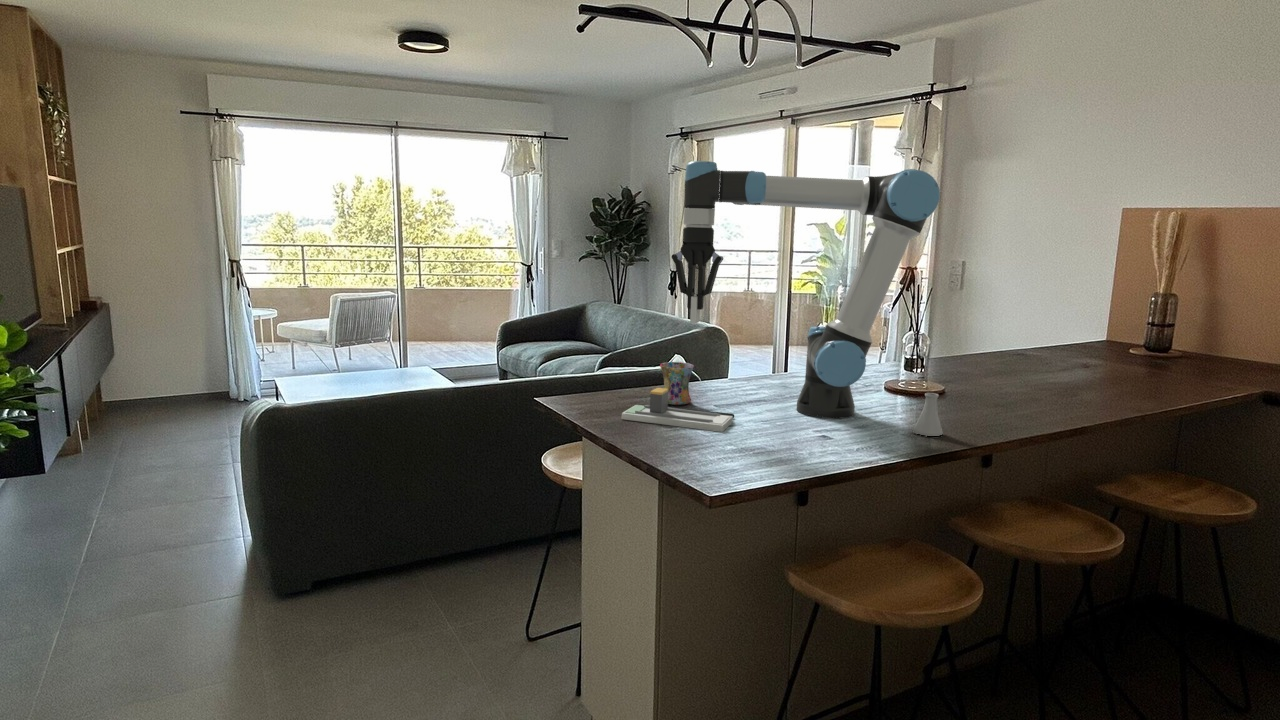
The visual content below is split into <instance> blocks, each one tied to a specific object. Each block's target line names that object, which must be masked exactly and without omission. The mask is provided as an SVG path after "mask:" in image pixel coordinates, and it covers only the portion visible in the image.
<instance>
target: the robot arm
mask: <svg viewBox="0 0 1280 720" xmlns="http://www.w3.org/2000/svg"><path fill="white" fill-rule="evenodd" d="M717 166H718V165H717V163H716V162H714V161H706V160H692V161H689V162H688V163H687V164H686V167H685V177H684V178H685V179H684V198H683V199H684V200H683V204H684V205H683V225H684V226H685V227H683V229H682V245H681V247H680V251H678V252H676V253H673V254H671V259H672V261H673V263H674V264H675V265H674V266H675V271H676V275H677V281H678V285H679V291H680V293H681V294H684V295H686V297H687V299H686V300H687V301H686V303H687V304H686V307H687V308H686V309H687V310H688V309H689V310H690V316H689V317H690V318H689V319H690V320H689V324H697V323H699V322H700V310H703V309H704V305H705V304H704V302H705V296H707V295H710V294H711V293H712V291H713V288H714V285H715V281H716V277H717V274H718V271H719V267H720V265H721V263H723V260H724V256H722V255H719V254H718V253H717V252H716V249H715V246H714V239H715V238H714V235H715V233H714V232H715V230H714V228H713V227H712V226H714V225H715V214H716V213H715V212H716V209H715V208H716V203H732V204H734V205H736V206H737V205H739V206H744V205H747V206H748V205H749V206H750V205H751V206H772V207H788V208H789V207H791V208H804V209H805V208H806V209H808V208H809V209H810V208H811V209H824V210H825V209H828V210H843V211H857V212H859V213H860V215H862V216H872V217H871V219H872V221H873V223H874V229H873V232H872V234H871V236H870V239H869V241H868V243H867V246H866V248H865V250H864V252H863V255H862V257H861V260H860V262H859V265H858V267H857V269H856V272H855V274H854V276H853V279H852V281H851V283H850V285H849V288H848V290H847V293H846V295H845V297H844V299H843V302H842V304H841V307H840V309H839V311H838V313H837V316H836V318H835V319H834V320H832V321H830V322H827V323H826V326H811V327H810V328H809V330H808V335H807V337H806V338H807V349H806V365H805V377H804V384H803V387H802V389H801V390H800V394H799V396H798V398H797V400H796V411H797V412H798V413H801V414H802V415H806V416H810V417H815V418H823V419H846V418H851V417H853V416H855V411H856V410H855V407H856V405H855V402H854V397H853V393H852V389H851V385H853V384H855V383H857V382H858V381H859V380H860V379H861V378H862V376H863V375H864V373H865V371H866V366H867V365H866V364H867V359H866V357H867V356H868V353H869V351H870V348H871V345H872V343H873V339H872V337H871V333H870V332H871V329H872V328H873V325H874V323H875V321H876V319H877V316H878V314H879V311H880V310H881V307H882V304H883V302H884V300H885V298H886V296H887V293H888V291H889V288H890V287H891V284H892V282H893V279H894V277H895V275H896V272H897V270H898V268H899V266H900V263H901V261H902V259H903V256H904V254H905V252H906V250H907V247H908V245H909V243H910V240H912V239H913V238H915V237H917V236H920V234H921V232H922V230H923V228H924V226H925V223H926V221H927V219H928V218H929V217H930V216H931V215H932V214H933V213H934V212H935V211H936V209H937V208H938V206H939V202H940V199H941V198H940V197H941V191H940V187H939V184H938V182H937V180H936V179H935V178H934V176H932V175H931V174H929V173H928V172H926V171H924V170H921V169H916V168H909V169H904V170H901V171H899V172H896V173H893V174H887V175H879V176H868V175H867V176H865V177H863V179H845V178H844V179H843V178H826V177H825V178H824V177H823V178H822V177H805V176H804V177H802V176H782V175H781V176H780V175H777V176H776V175H767V174H766V173H765V172H763V171H755V170H750V171H749V170H728V171H727V170H720V169H718V167H717ZM683 258H684V260H685V261H686V263H687V278H686V273H685V268H684V262H683V261H682V260H683ZM710 260H712V261H711V262H712V263H711V267H710V269H709V274H708V277H707V281H706V269H707V263H708V262H709V261H710ZM696 268H697V287H696ZM686 279H687V280H686ZM695 288H697V289H695ZM695 290H696V291H697V292H696V291H695Z"/></svg>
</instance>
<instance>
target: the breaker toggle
mask: <svg viewBox="0 0 1280 720" xmlns="http://www.w3.org/2000/svg"><path fill="white" fill-rule="evenodd" d="M649 398H650V399H649V406H650V412H652V413H660V414H663V413H664V412H666V411H667V410H668V407H669V404H668V389H666V388H664V387H656V388H654V389H652V390H650V397H649Z"/></svg>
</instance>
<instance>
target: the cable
mask: <svg viewBox="0 0 1280 720" xmlns="http://www.w3.org/2000/svg"><path fill="white" fill-rule="evenodd" d="M668 408H671V407H669V406H668ZM674 408H675V409H681V407H680V408H679V407H674ZM682 409H683V410H692V411H700V412H709V413H717V414H720V415H727V416H733V419H734V418H735V414H734V413H727V412H717V411H709V410H697V409H689V408H687V409H686V408H682Z"/></svg>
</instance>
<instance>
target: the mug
mask: <svg viewBox="0 0 1280 720" xmlns="http://www.w3.org/2000/svg"><path fill="white" fill-rule="evenodd" d="M659 366H660V369H661V371H662V376H663V388H666V389H668V405H672V406H683V405H688V404H690V403H691V402H692V398H691V395H690V390H689V389H690V388H689V384H690V379H691V375H692V373H693V370H694V368H695V365H694V364H692V363H689V362H683V361H682V362H681V361H680V362H679V361H667V362H662V363H660V364H659Z"/></svg>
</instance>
